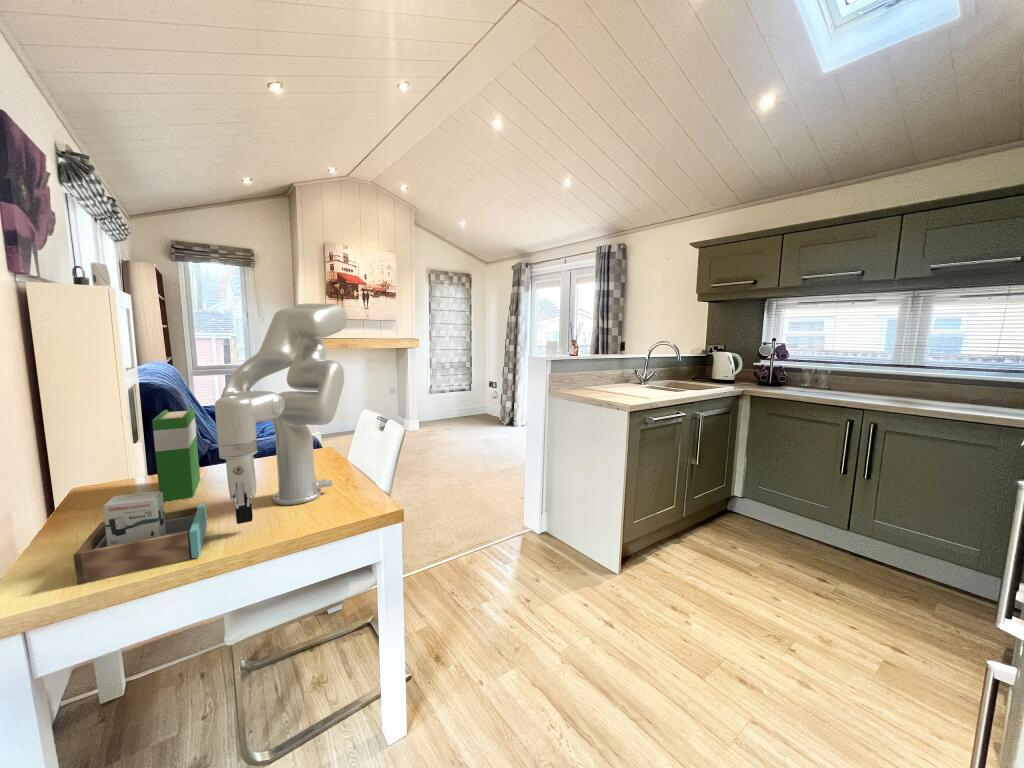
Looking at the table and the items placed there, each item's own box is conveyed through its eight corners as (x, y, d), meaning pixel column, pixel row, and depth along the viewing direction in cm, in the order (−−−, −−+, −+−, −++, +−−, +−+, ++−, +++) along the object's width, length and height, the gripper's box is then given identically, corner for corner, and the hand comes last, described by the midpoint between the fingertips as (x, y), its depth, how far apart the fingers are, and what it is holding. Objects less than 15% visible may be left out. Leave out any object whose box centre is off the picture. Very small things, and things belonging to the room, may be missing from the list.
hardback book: (171, 483, 129) (164, 410, 126) (200, 479, 133) (194, 408, 130) (160, 502, 114) (152, 420, 111) (193, 497, 118) (186, 417, 115)
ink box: (106, 559, 83) (100, 505, 82) (117, 548, 87) (111, 496, 86) (160, 550, 87) (155, 497, 85) (168, 539, 91) (163, 489, 90)
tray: (207, 526, 100) (205, 503, 99) (198, 556, 86) (196, 530, 85) (112, 544, 91) (109, 519, 90) (86, 582, 77) (82, 552, 76)
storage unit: (199, 529, 99) (197, 506, 98) (189, 559, 86) (187, 532, 85) (103, 548, 90) (100, 522, 89) (77, 584, 77) (73, 555, 76)
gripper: (256, 454, 90) (262, 530, 93) (258, 438, 103) (263, 506, 106) (215, 459, 87) (222, 539, 89) (222, 442, 99) (228, 512, 102)
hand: (244, 521), depth 97 cm, fingers closed
